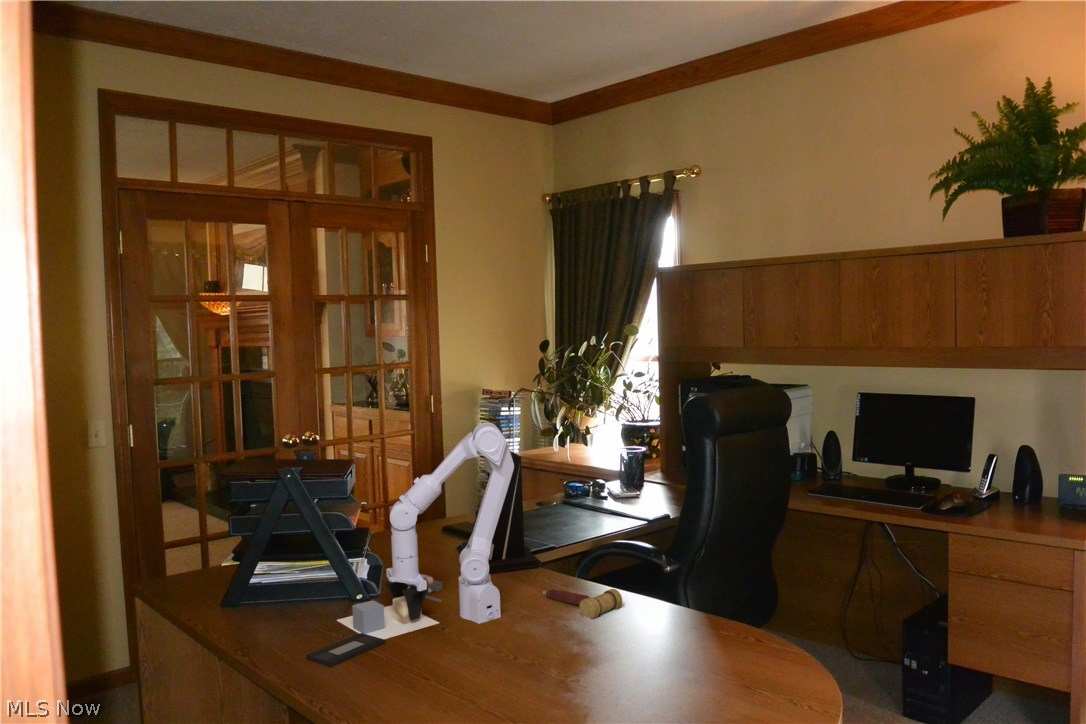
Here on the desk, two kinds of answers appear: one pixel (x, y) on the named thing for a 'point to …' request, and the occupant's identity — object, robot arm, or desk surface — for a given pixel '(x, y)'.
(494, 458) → the robot arm
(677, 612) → the desk surface
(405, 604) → the maple cube
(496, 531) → the award
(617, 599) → the gavel
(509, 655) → the desk surface
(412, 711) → the desk surface
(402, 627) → the blank cream board
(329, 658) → the vhs tape
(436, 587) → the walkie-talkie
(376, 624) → the slate block
